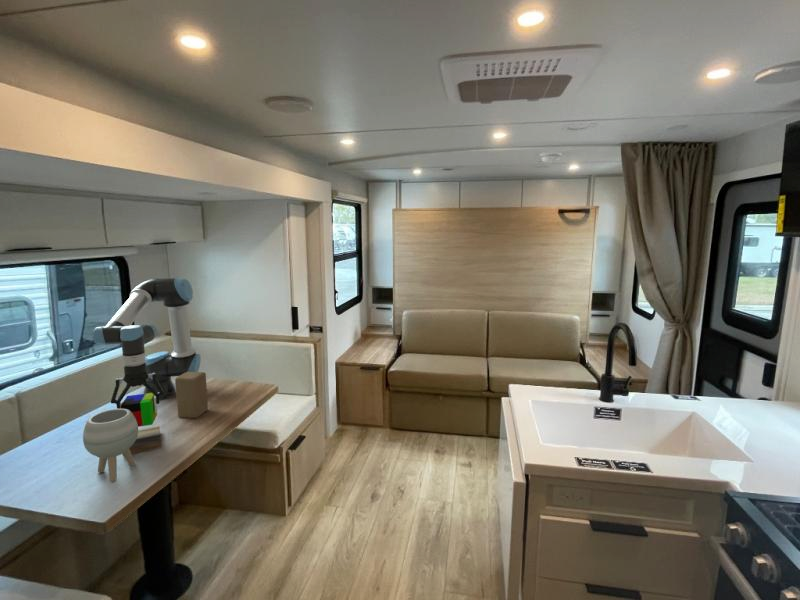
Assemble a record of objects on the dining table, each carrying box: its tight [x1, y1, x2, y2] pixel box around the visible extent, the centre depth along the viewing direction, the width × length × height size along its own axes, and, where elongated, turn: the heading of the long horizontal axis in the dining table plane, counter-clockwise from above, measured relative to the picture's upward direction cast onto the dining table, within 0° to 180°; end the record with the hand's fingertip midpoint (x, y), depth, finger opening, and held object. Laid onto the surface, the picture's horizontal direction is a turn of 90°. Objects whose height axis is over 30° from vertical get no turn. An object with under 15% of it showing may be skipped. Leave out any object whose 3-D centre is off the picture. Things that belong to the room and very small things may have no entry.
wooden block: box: [174, 371, 209, 419], centre depth 192 cm, size 10×10×20 cm
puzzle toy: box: [121, 393, 158, 428], centre depth 164 cm, size 10×10×10 cm
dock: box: [129, 425, 162, 455], centre depth 166 cm, size 15×13×6 cm
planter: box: [82, 408, 139, 483], centre depth 144 cm, size 16×16×22 cm
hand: (139, 414), depth 164 cm, fingers closed on puzzle toy, 11 cm apart
